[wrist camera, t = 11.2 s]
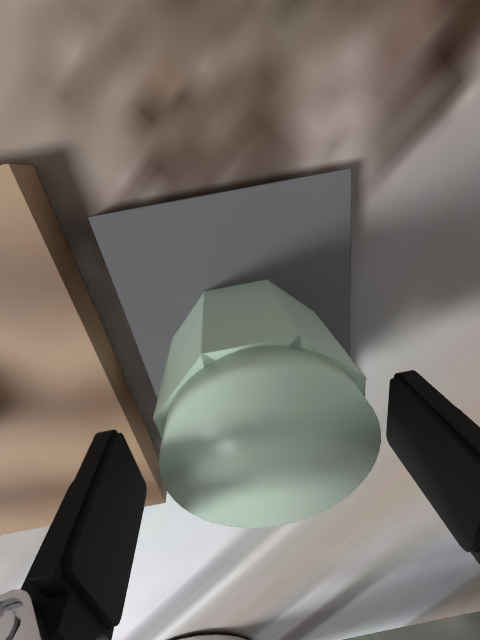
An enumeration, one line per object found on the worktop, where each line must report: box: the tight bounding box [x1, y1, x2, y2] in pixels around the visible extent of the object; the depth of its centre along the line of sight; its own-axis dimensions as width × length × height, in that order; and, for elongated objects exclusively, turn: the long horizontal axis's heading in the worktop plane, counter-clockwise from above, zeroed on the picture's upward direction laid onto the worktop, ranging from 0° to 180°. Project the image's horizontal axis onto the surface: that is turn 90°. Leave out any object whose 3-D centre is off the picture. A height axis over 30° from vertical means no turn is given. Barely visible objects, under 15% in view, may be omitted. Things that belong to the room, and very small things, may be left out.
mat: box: [88, 169, 351, 399], centre depth 14 cm, size 14×10×1 cm
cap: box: [153, 279, 381, 528], centre depth 11 cm, size 7×7×6 cm
